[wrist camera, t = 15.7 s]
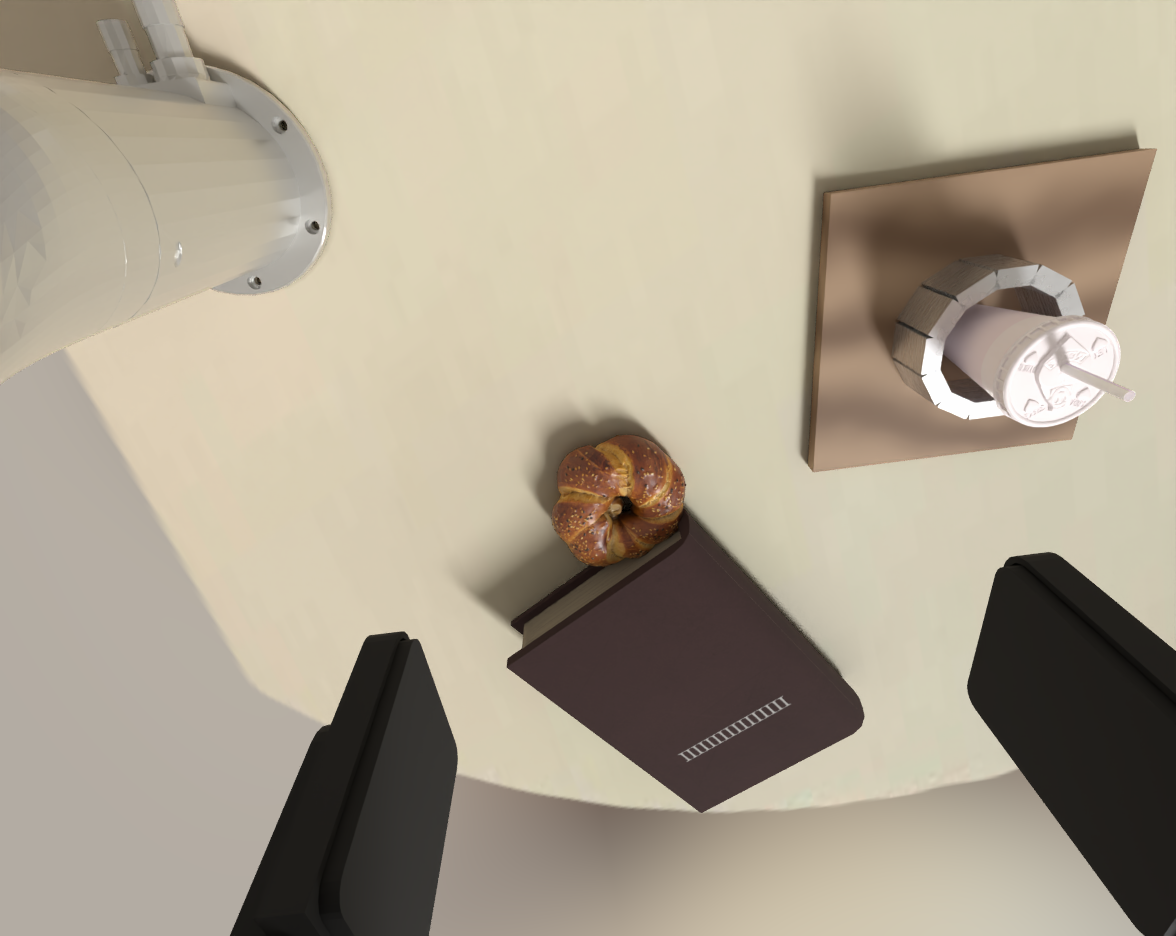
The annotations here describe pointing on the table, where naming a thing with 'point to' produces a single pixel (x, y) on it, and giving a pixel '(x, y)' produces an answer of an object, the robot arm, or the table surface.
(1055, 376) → the smoothie
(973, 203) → the walnut board
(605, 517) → the pretzel
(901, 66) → the table surface
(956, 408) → the steel sleeve
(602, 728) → the book
